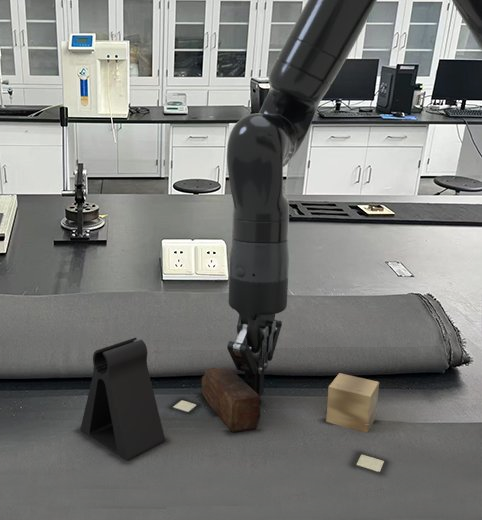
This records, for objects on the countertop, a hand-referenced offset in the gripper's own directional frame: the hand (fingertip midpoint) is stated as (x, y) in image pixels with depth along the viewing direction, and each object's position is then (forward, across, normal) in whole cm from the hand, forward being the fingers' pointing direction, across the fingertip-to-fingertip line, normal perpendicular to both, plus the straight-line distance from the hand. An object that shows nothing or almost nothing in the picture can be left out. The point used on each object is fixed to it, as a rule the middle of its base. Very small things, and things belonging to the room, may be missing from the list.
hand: (253, 395), depth 73 cm
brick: (+1, -4, +2) cm, 5 cm away
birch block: (+1, +3, -12) cm, 13 cm away
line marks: (+1, -6, -5) cm, 8 cm away
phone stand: (+1, -17, +10) cm, 20 cm away
